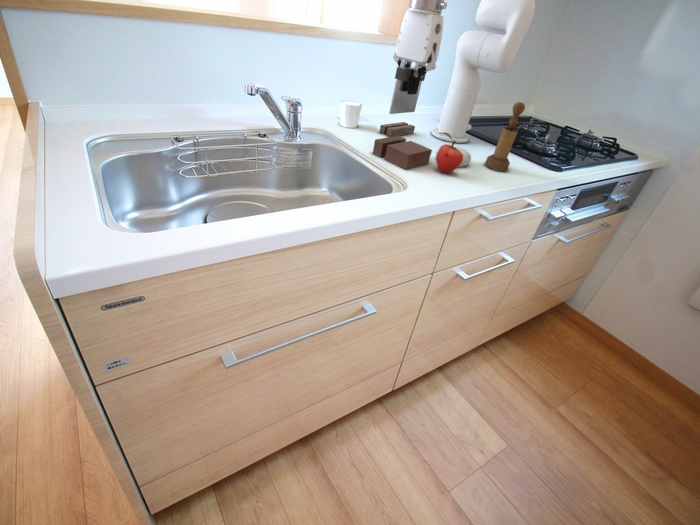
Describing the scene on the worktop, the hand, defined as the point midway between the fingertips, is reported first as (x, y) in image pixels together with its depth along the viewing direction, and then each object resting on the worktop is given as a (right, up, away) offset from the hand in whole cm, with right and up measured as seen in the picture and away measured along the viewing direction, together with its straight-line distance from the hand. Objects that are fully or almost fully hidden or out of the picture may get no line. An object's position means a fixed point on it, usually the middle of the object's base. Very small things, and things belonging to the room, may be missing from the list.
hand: (407, 91), depth 94 cm
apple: (+11, -19, +5) cm, 23 cm away
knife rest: (+1, 0, +29) cm, 29 cm away
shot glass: (-15, +2, +28) cm, 32 cm away
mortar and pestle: (+28, -16, +14) cm, 35 cm away
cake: (+1, -16, +7) cm, 18 cm away
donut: (+15, -14, +13) cm, 24 cm away
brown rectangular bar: (-4, -12, +11) cm, 17 cm away
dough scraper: (-1, -4, +3) cm, 5 cm away
